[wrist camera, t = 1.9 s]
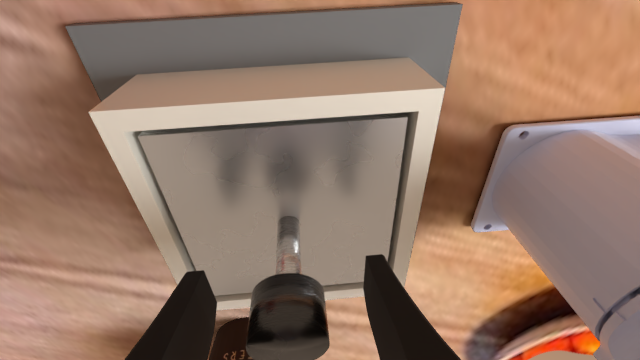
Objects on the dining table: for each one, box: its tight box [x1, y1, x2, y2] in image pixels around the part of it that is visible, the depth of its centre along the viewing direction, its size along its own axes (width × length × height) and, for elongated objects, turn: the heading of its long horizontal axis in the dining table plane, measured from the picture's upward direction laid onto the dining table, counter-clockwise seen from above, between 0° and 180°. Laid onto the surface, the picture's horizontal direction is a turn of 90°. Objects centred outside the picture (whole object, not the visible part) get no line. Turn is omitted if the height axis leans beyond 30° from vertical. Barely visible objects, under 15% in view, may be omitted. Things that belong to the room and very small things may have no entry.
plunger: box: [138, 112, 408, 360], centre depth 12 cm, size 10×10×6 cm
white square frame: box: [88, 57, 445, 311], centre depth 16 cm, size 12×12×4 cm
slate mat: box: [65, 3, 463, 258], centre depth 17 cm, size 16×16×1 cm
